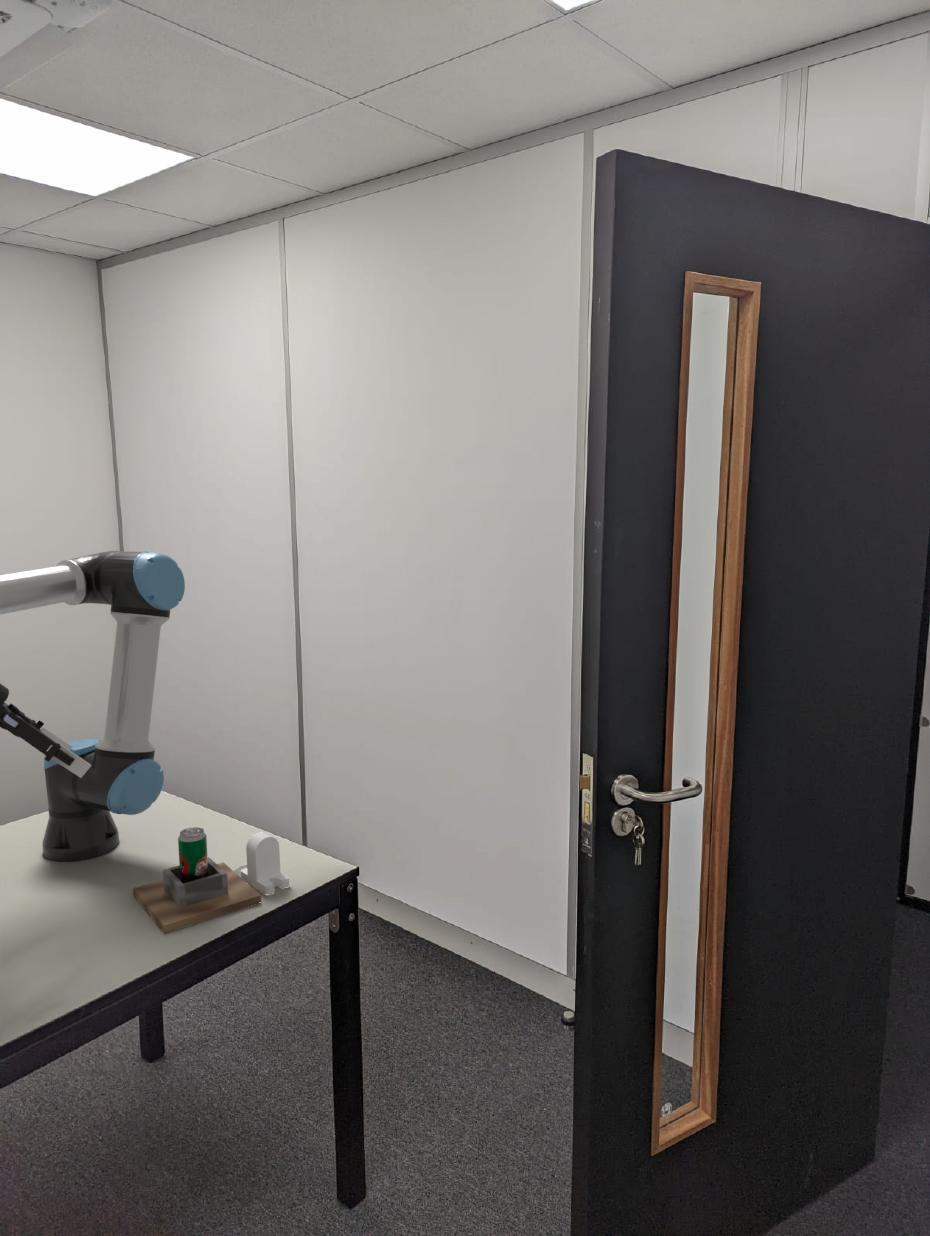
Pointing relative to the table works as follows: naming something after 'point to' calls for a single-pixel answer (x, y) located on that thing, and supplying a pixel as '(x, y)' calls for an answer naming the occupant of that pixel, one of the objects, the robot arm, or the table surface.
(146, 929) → the table surface
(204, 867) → the soda can
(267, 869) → the cable organizer
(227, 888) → the socket board
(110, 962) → the table surface
